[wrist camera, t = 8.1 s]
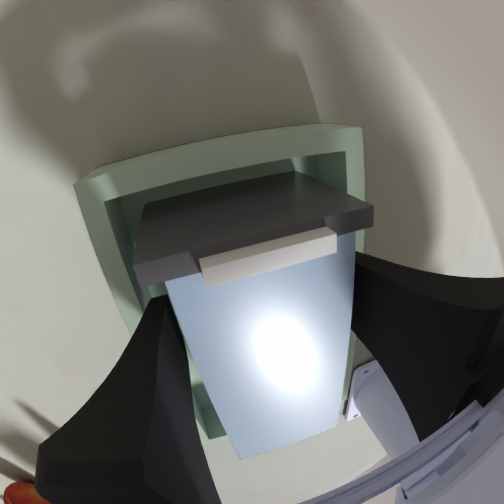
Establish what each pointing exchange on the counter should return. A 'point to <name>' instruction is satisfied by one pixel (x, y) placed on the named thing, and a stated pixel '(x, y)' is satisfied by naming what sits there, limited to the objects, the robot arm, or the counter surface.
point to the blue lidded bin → (261, 298)
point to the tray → (197, 178)
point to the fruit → (23, 494)
